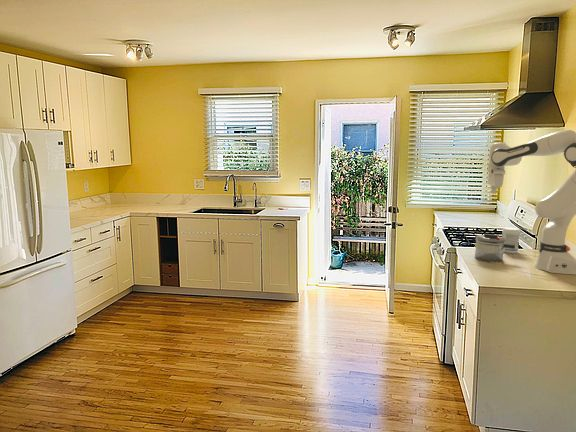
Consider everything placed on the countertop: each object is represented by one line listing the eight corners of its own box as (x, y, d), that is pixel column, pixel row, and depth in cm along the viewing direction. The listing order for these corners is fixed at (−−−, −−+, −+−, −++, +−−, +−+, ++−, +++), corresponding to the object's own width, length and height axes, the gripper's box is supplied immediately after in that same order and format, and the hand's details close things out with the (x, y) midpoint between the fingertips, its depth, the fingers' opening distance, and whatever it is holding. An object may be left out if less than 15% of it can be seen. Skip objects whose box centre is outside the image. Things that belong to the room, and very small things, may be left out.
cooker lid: (505, 238, 274) (506, 233, 273) (505, 243, 259) (506, 238, 258) (476, 235, 280) (476, 230, 280) (474, 240, 265) (475, 235, 265)
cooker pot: (512, 258, 273) (514, 240, 271) (513, 265, 259) (515, 246, 257) (475, 253, 282) (476, 236, 280) (473, 260, 268) (475, 241, 266)
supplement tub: (520, 252, 287) (523, 229, 284) (510, 254, 283) (512, 230, 280) (507, 249, 296) (509, 226, 293) (497, 250, 291) (499, 227, 289)
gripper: (486, 168, 285) (483, 190, 287) (494, 171, 265) (491, 195, 268) (497, 168, 284) (494, 191, 286) (506, 171, 264) (503, 195, 266)
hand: (493, 193), depth 277 cm, fingers closed
